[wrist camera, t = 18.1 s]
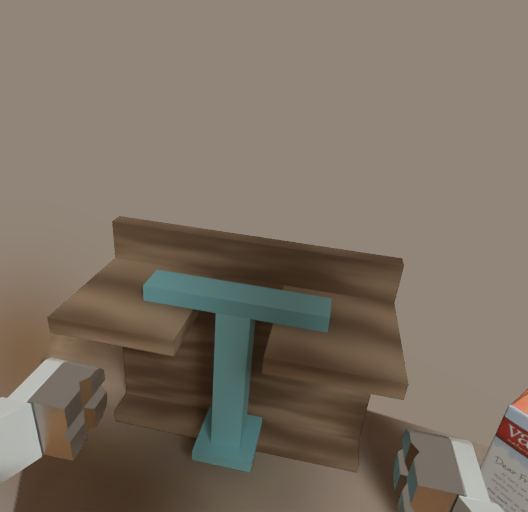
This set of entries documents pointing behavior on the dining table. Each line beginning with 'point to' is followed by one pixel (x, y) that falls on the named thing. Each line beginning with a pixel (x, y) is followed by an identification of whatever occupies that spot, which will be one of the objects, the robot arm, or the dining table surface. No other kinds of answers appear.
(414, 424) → the dining table surface
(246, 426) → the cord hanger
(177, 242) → the wall shelf
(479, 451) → the dining table surface
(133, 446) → the dining table surface
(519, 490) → the cracker box
